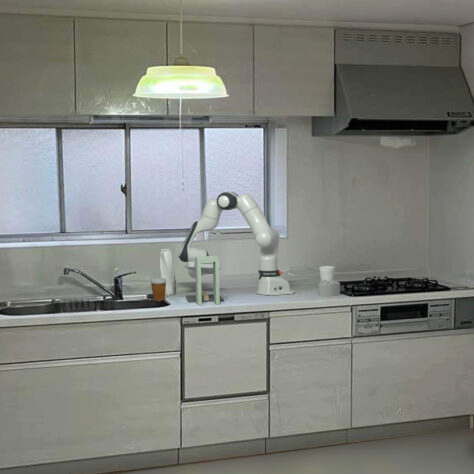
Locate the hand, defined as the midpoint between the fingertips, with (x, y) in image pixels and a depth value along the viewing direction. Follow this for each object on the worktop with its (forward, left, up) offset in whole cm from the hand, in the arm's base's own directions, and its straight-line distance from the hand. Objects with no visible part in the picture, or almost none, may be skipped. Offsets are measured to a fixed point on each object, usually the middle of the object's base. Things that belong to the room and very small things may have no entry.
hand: (207, 263), depth 423 cm
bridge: (+3, +21, -20) cm, 29 cm away
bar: (+3, +4, -19) cm, 20 cm away
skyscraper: (+23, -15, -20) cm, 34 cm away
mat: (+3, +5, -20) cm, 21 cm away
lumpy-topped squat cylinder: (-70, +10, -20) cm, 74 cm away
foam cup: (-77, -17, -20) cm, 82 cm away
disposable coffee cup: (+29, +1, -20) cm, 35 cm away
